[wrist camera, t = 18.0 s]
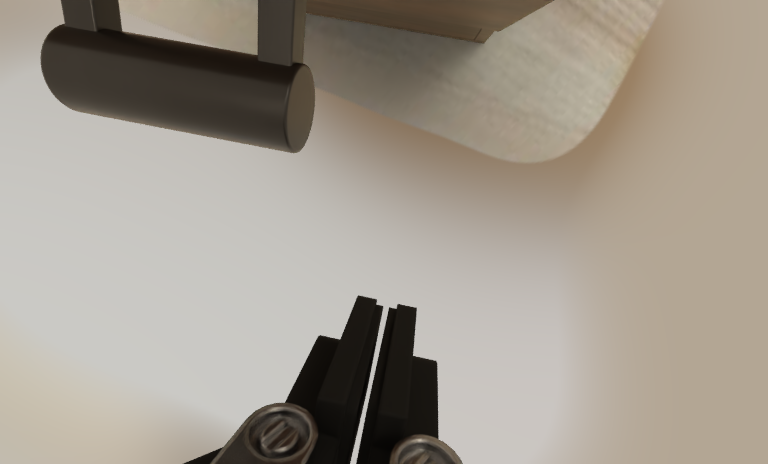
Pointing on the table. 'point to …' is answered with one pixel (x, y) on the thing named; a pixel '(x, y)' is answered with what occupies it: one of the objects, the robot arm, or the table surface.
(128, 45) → the lid
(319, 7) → the chest
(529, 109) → the table surface
